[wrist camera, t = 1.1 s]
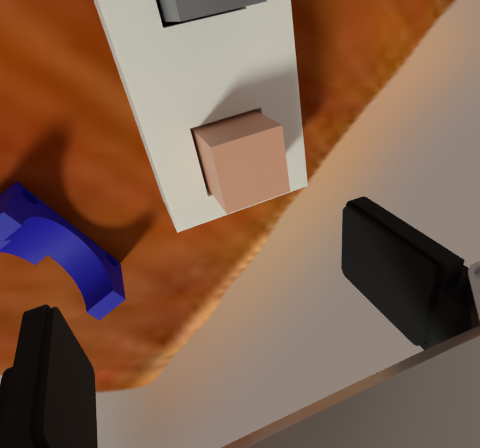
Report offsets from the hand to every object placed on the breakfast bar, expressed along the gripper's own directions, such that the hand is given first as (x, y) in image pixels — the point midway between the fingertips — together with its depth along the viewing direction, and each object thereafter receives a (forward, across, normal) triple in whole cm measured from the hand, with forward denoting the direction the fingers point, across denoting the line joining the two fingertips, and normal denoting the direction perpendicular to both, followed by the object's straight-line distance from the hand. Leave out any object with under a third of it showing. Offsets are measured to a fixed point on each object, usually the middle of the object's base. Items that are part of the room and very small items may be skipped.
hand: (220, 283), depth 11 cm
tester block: (+24, -6, -3) cm, 24 cm away
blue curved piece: (+24, +10, +9) cm, 28 cm away
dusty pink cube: (+19, -6, +3) cm, 20 cm away
